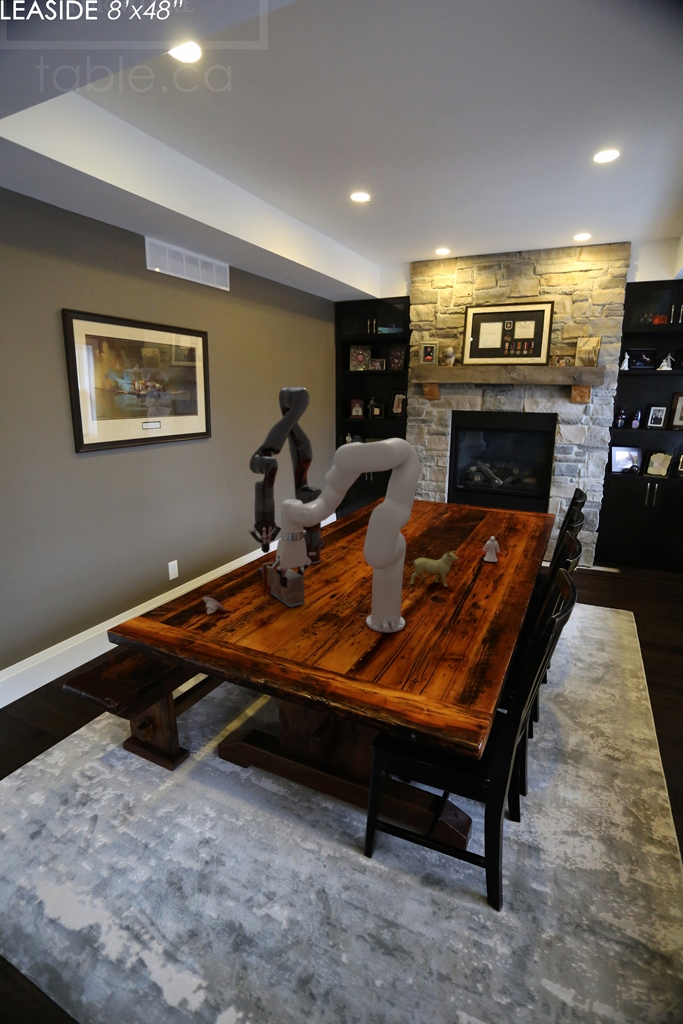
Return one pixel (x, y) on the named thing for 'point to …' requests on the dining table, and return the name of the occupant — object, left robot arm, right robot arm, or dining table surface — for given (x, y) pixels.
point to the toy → (434, 567)
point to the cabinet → (288, 587)
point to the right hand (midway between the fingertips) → (291, 584)
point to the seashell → (212, 605)
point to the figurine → (491, 550)
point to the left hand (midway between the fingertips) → (265, 552)
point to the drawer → (266, 573)
